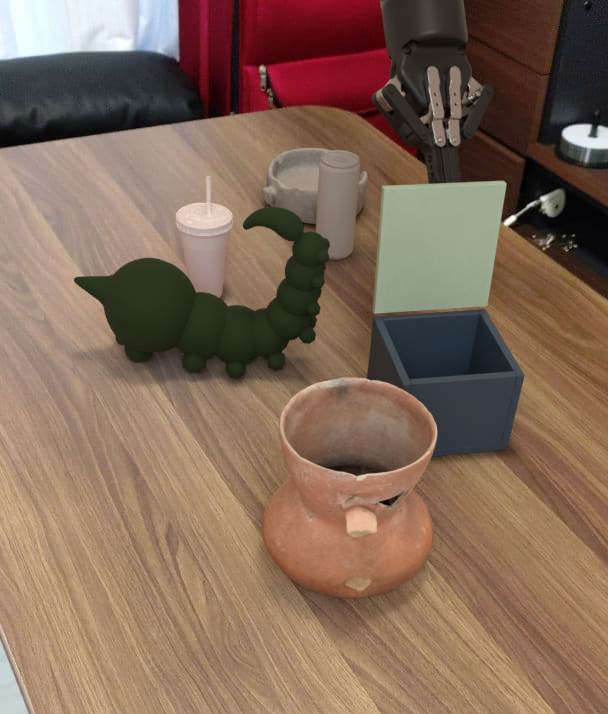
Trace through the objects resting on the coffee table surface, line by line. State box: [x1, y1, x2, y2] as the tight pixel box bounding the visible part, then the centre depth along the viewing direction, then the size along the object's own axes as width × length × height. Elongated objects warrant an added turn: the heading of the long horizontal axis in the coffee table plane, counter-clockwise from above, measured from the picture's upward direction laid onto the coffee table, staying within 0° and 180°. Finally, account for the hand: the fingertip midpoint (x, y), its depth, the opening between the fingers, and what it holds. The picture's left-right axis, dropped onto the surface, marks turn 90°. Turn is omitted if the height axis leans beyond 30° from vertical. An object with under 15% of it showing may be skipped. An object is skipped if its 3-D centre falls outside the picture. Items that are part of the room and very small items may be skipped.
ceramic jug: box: [261, 376, 437, 599], centre depth 80 cm, size 18×14×14 cm
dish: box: [261, 147, 369, 225], centre depth 130 cm, size 14×14×5 cm
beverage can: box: [315, 149, 361, 261], centre depth 118 cm, size 5×5×12 cm
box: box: [366, 308, 526, 457], centre depth 96 cm, size 12×12×9 cm
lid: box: [372, 180, 507, 315], centre depth 92 cm, size 12×12×1 cm
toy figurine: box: [73, 206, 330, 379], centre depth 98 cm, size 9×19×25 cm
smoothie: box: [175, 175, 234, 299], centre depth 109 cm, size 6×6×14 cm
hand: (446, 191), depth 92 cm, fingers closed
